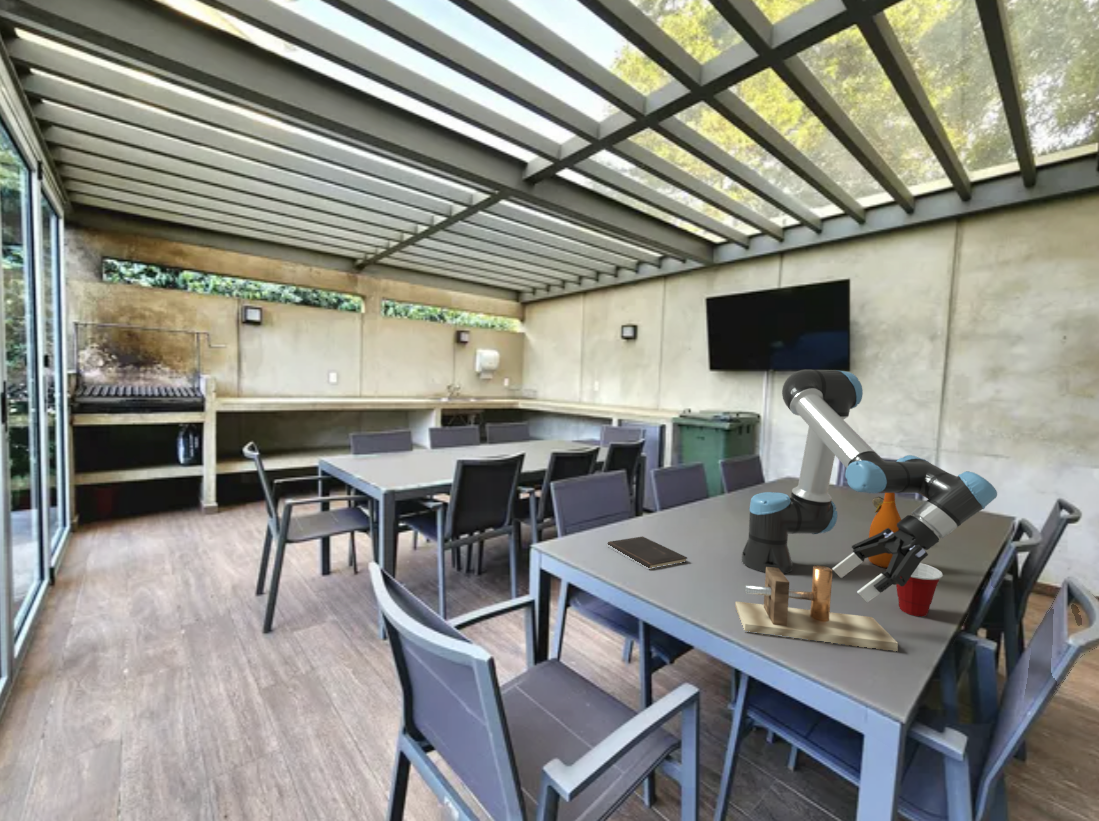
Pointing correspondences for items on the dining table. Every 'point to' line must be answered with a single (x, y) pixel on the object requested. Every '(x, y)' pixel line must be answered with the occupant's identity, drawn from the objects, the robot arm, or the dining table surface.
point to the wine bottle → (884, 526)
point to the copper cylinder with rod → (808, 593)
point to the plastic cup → (918, 590)
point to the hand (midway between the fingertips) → (848, 584)
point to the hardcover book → (647, 552)
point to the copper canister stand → (809, 620)
